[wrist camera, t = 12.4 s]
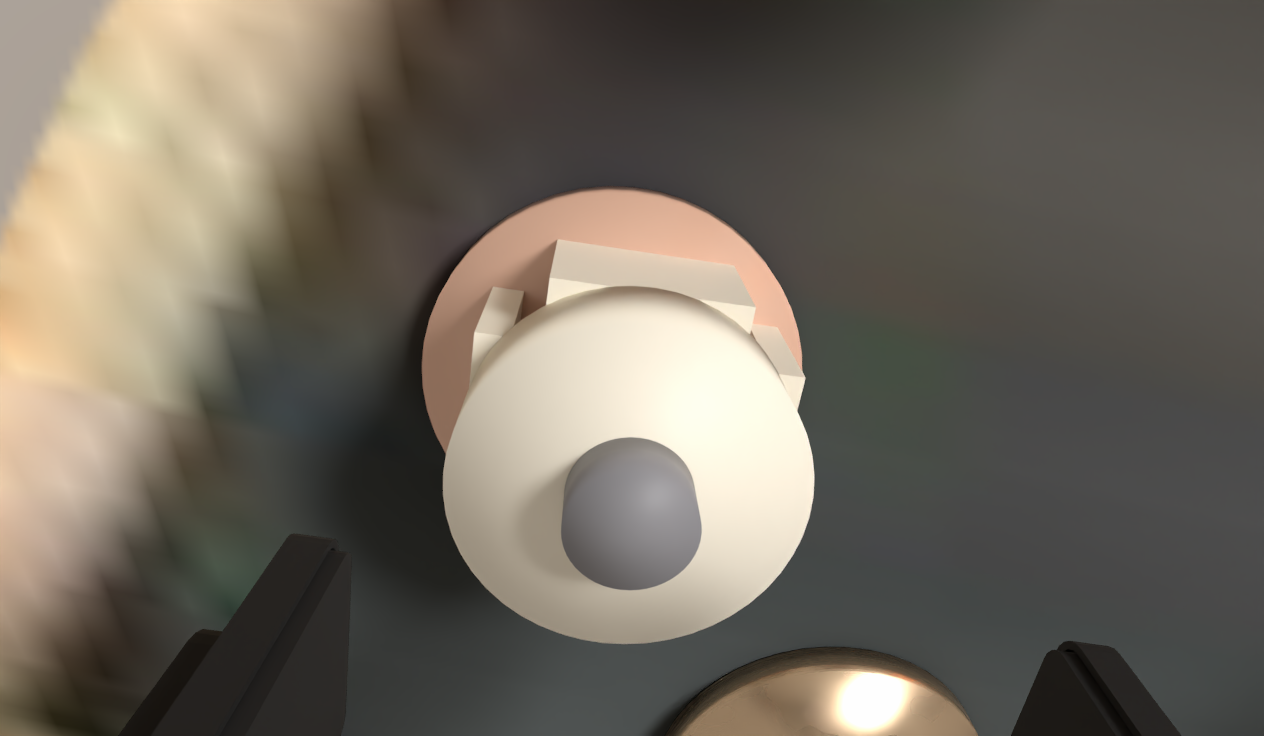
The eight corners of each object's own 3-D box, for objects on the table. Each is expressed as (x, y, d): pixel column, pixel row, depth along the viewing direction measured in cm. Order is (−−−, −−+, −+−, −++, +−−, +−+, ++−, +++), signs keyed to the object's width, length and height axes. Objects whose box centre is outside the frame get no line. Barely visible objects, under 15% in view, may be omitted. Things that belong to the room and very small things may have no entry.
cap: (795, 270, 19) (876, 377, 13) (734, 524, 22) (780, 705, 16) (494, 225, 19) (445, 317, 13) (468, 491, 21) (416, 667, 15)
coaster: (530, 111, 19) (527, 115, 18) (867, 299, 20) (877, 310, 20) (370, 437, 21) (362, 451, 21) (679, 575, 23) (681, 593, 23)
